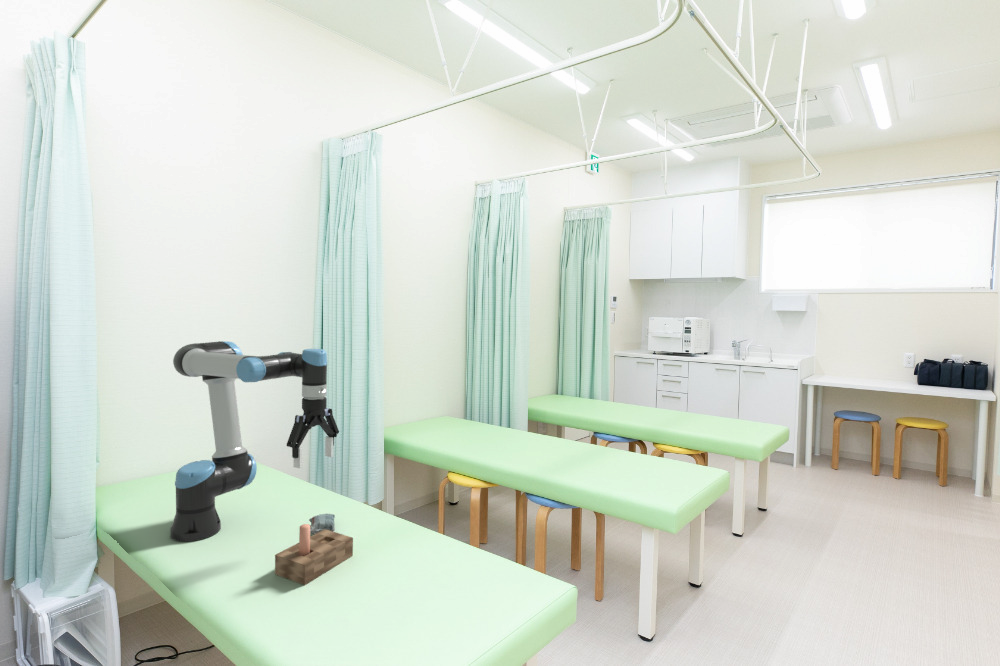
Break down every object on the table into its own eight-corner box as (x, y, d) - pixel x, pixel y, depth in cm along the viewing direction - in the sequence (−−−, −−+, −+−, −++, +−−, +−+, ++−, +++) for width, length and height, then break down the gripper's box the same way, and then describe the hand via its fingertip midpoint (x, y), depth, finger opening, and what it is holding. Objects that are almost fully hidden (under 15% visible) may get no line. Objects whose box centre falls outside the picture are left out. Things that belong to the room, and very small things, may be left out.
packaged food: (308, 539, 184) (308, 525, 184) (309, 524, 195) (309, 511, 195) (334, 536, 187) (335, 522, 186) (334, 522, 198) (334, 509, 198)
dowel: (296, 565, 162) (297, 527, 161) (304, 561, 165) (305, 523, 164) (304, 568, 161) (304, 529, 160) (311, 563, 164) (312, 525, 163)
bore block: (275, 574, 161) (275, 554, 160) (324, 546, 179) (324, 529, 178) (304, 585, 156) (304, 565, 155) (352, 555, 174) (352, 537, 173)
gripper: (292, 405, 162) (292, 474, 163) (350, 392, 184) (349, 453, 186) (274, 402, 165) (274, 470, 167) (333, 390, 187) (332, 450, 189)
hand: (313, 461), depth 176 cm, fingers open, 13 cm apart
